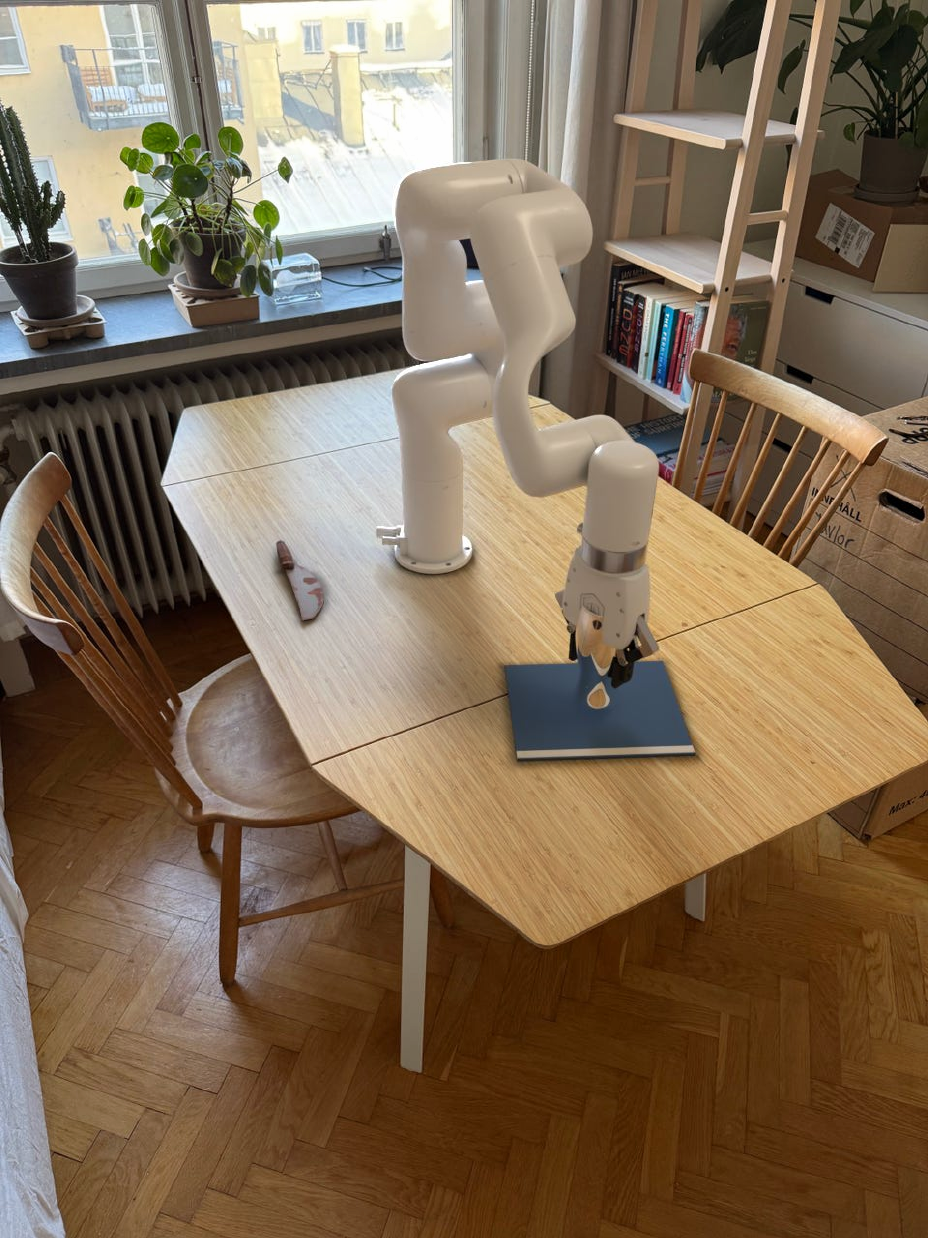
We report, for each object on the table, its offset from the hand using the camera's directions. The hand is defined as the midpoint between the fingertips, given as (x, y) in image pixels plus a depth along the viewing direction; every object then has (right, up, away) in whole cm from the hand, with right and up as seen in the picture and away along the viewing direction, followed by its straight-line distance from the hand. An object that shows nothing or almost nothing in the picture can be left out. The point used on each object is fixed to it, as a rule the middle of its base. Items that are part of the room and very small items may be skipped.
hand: (599, 668), depth 116 cm
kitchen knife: (-42, +12, +27) cm, 52 cm away
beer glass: (0, -4, +3) cm, 5 cm away
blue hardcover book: (0, -6, +4) cm, 7 cm away
